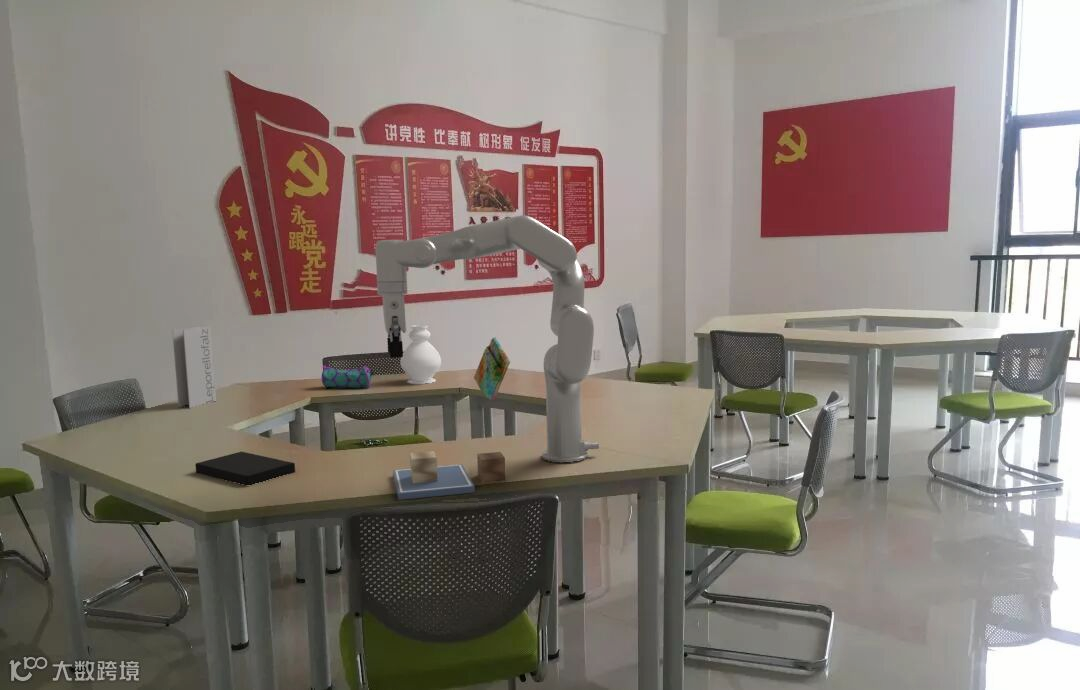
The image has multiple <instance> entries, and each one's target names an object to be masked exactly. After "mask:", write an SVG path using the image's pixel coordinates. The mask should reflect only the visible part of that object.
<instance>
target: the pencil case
mask: <svg viewBox="0 0 1080 690" xmlns="http://www.w3.org/2000/svg"><path fill="white" fill-rule="evenodd" d="M322 368H324V369H323V370H322V372H321V383H322V385H323V386H324V388H325V387H329V388H330V387H332V389H333V388H334V389H335V388H336V389H369V388H370V385H371V381H372V379H371V378H372V376H374V371H373V370H370V368H369V367H367V366H365V365H363V366H362V367H359V368H350V369H334V368H332V367H330V366H326V365H322Z"/></svg>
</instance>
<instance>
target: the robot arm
mask: <svg viewBox="0 0 1080 690" xmlns="http://www.w3.org/2000/svg"><path fill="white" fill-rule="evenodd" d="M515 250H522V251H523V252H525V253H526V254H528V255H530V256H531V257H533V258H535V260H537V262H538V264H539V265H540V266H541V267H542V268H543V269H544V270H546V271H547V272H548V273H549V275H550V277H551V280H552V302H551V303H552V304H551V311H550V312H551V313H550V324H549V325H550V329H551V331H552V333H553V334H554V335H555V336H556V337H557V344H553V345H552V346H550V347H549V348H548V350H546V352H545V354H544V358H543V373H544V379H545V380H544V381H545V392H546V393H545V394H546V395H545V396H546V397H545V398H546V399H545V400H546V403H545V404H546V440H547V441H546V443H547V444H546V447H547V449H546V450H544V451H542V453H541V458H542V459H543V460H544V461H546V460H547V462H550V461H551V463H557V462H560V463H559V464H562V463H561V462H571V463H574V462H573V461H578V460H582V459H584V460H586V459H587V458H588V450H599V449H600V448H599V446H600V445H599V442H598V441H595V442H594V441H593V442H592V441H585V440H584V439H583V438H582V390H581V382H582V381H584V379H585V378H586V377H587V376H588V374H589V372H590V369H591V363H592V356H593V344H594V334H595V327H594V326H595V325H594V321H593V318H592V315H591V314H590V313H589V311H588V310H586V309H585V308H584V307H585V276H584V273H583V270H582V267H581V265H580V263H579V261H578V260H577V258H578V254H577V250H576V247H575V246H574V244H573V242H572V241H570V240H569V239H567V238H566V237H564V236H563V235H561V234H559V233H557V232H556V231H554V230H552V229H550V227H548V226H546V225H545V224H543V223H542V222H540V221H538V220H537V219H535V218H534V217H531V216H529V215H527V214H526V215H517V216H512V217H507V218H503V219H498V220H492V221H489V222H484V223H483V222H482V223H479V224H474V225H468V226H464V227H461V228H459V229H457V230H453V231H449V232H445V233H441V234H436V235H431V236H427V237H421V238H420V237H419V238H416V239H410V240H400V239H385V240H383V239H382V240H379V241H377V242H376V244H375V264H376V266H375V270H376V287H377V291H376V292H377V295H378V296H382V311H383V320H384V328H385V332H386V333H387V340H386V341H387V353H389V357H390V358H391V359H395V358H397V359H398V358H400V359H401V357H403V353H404V350H403V348H404V347H403V341H402V340H403V339H402V333H403V334H405V333H406V332H407V323H406V307H405V297H404V295H408V279H407V268H415V269H416V268H417V269H426V268H427V269H428V268H429V267H430V266H432V265H433V266H434V265H436V264H437V265H438V264H442V263H447V262H453V261H457V260H473V259H480V258H484V257H489V256H493V255H497V254H502V253H507V252H511V251H515ZM586 457H587V458H586ZM585 458H586V459H585ZM582 461H583V460H582ZM578 462H579V461H578Z"/></svg>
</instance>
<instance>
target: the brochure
mask: <svg viewBox="0 0 1080 690" xmlns="http://www.w3.org/2000/svg"><path fill="white" fill-rule="evenodd" d="M171 331H172V333H171V335H172V343H173V344H172V345H173V355H174V356H173V357H174V367H175V368H174V370H175V380H176V392H177V403H178V408H179V407H180V408H183V407H182V406H184V407H186V406H185V405H188V406H189V409H192V408H191V407H193V408H196V407H195V406H197V407H200V406H199V405H201V406H203V405H202V404H204V405H207V404H206V403H208V404H211V403H210V402H212V403H214V402H213V401H216V402H217V390H216V387H217V386H216V377H215V364H214V350H213V336H212V326H210V325H209V326H204V327H201V325H200V326H198V325H197V326H193V327H185V328H178V329H177V328H176V329H172V330H171Z"/></svg>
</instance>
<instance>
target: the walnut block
mask: <svg viewBox="0 0 1080 690" xmlns="http://www.w3.org/2000/svg"><path fill="white" fill-rule="evenodd" d="M477 477H478V479H479V481H480V482H481V484H484V483H485V484H486V483H496V482H505V481H507V480H506V458H505V456H504V455H503V453H502V452H501V451H495V452H485V453H483V452H482V453H477Z"/></svg>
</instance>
